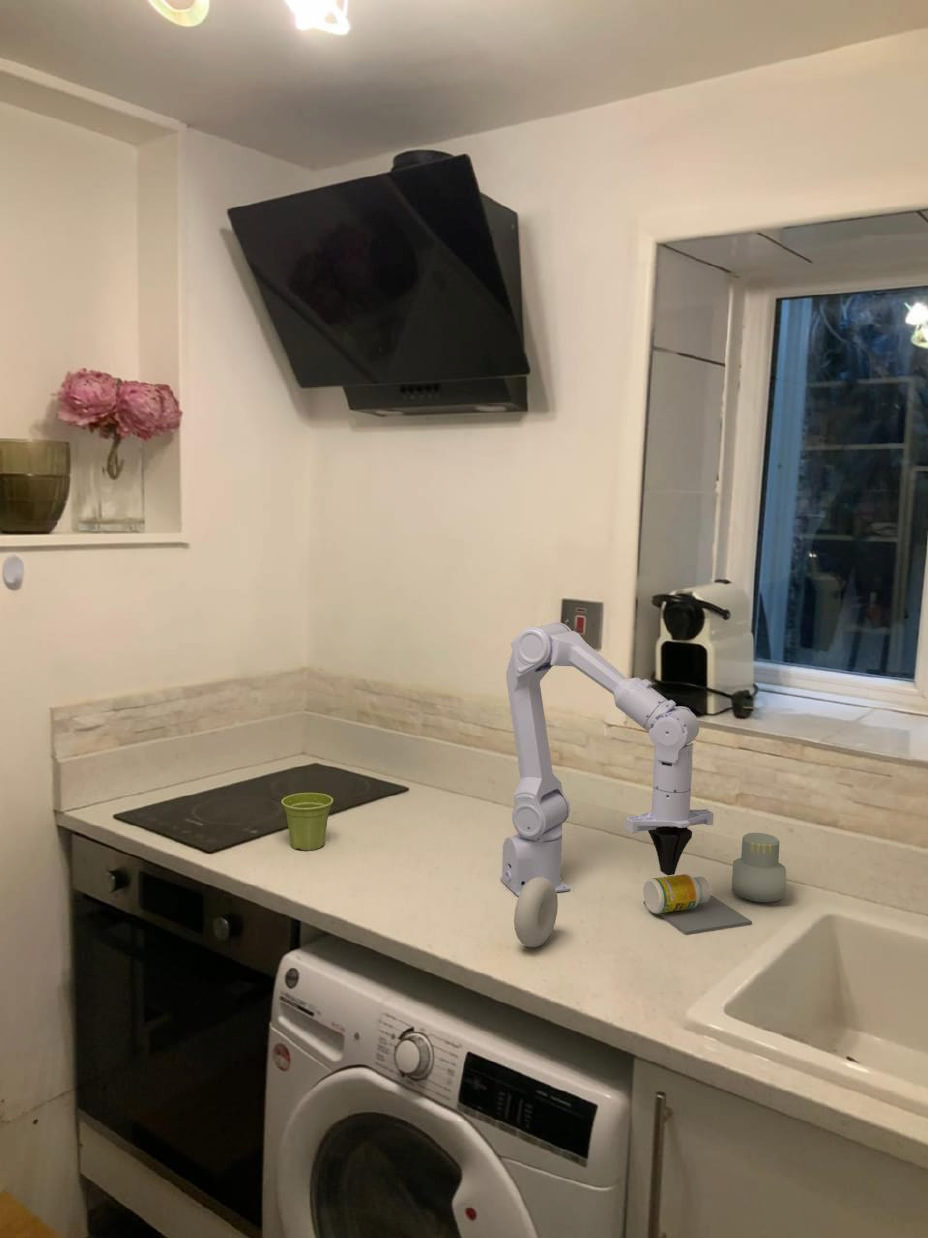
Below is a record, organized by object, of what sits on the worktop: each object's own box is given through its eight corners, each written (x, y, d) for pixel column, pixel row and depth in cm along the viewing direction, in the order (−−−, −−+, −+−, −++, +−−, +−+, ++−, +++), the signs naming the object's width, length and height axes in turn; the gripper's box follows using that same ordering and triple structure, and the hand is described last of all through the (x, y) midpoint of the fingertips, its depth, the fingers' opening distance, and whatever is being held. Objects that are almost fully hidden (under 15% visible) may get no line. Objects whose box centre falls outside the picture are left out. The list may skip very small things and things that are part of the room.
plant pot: (288, 857, 173) (288, 810, 172) (276, 840, 182) (276, 795, 181) (339, 851, 177) (339, 804, 176) (324, 834, 185) (325, 790, 184)
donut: (539, 929, 146) (542, 865, 145) (560, 935, 144) (563, 870, 143) (508, 955, 138) (510, 887, 137) (530, 961, 136) (532, 893, 135)
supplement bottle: (639, 883, 155) (690, 876, 158) (647, 917, 153) (699, 909, 156) (655, 875, 151) (707, 868, 154) (663, 910, 148) (716, 903, 152)
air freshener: (785, 912, 155) (789, 852, 154) (731, 905, 157) (735, 846, 156) (782, 887, 165) (785, 830, 164) (731, 881, 167) (735, 825, 166)
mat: (685, 935, 146) (685, 931, 146) (643, 903, 157) (643, 900, 157) (751, 924, 150) (752, 921, 150) (706, 894, 161) (706, 891, 161)
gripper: (644, 799, 142) (640, 887, 144) (727, 791, 148) (722, 876, 149) (620, 785, 149) (616, 870, 151) (700, 778, 154) (695, 860, 156)
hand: (667, 872), depth 150 cm, fingers closed
